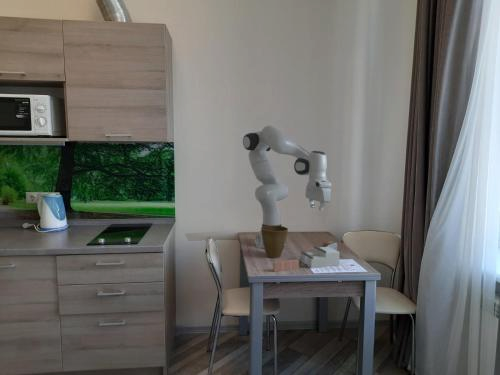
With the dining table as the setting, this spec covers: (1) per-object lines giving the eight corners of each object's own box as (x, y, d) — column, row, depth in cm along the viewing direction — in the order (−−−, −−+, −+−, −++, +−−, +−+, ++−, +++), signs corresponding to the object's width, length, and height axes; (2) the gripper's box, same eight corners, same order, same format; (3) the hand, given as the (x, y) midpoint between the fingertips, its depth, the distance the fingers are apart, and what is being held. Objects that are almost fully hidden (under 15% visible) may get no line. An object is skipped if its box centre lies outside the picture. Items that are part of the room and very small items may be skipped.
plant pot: (265, 261, 179) (266, 231, 177) (257, 253, 193) (257, 226, 192) (291, 259, 183) (292, 230, 182) (281, 251, 197) (282, 224, 196)
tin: (333, 252, 196) (334, 238, 195) (338, 253, 194) (339, 239, 193) (320, 258, 185) (320, 243, 184) (325, 259, 183) (325, 244, 182)
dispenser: (301, 261, 179) (301, 246, 178) (327, 259, 184) (328, 244, 183) (311, 268, 168) (311, 252, 167) (339, 265, 173) (339, 249, 172)
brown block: (273, 270, 164) (273, 261, 164) (297, 268, 168) (297, 259, 168) (274, 272, 163) (274, 262, 162) (298, 269, 167) (299, 260, 166)
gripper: (302, 181, 183) (302, 206, 184) (321, 184, 163) (321, 212, 165) (313, 180, 185) (312, 205, 186) (333, 184, 165) (332, 211, 167)
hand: (316, 208), depth 175 cm, fingers open, 8 cm apart
